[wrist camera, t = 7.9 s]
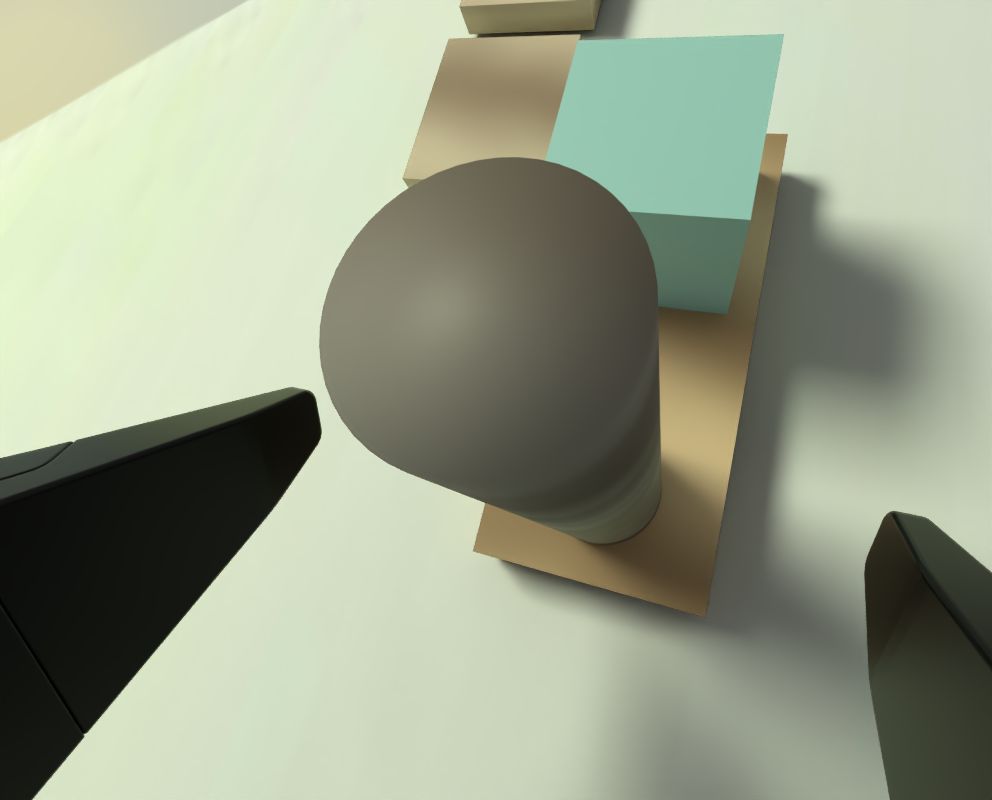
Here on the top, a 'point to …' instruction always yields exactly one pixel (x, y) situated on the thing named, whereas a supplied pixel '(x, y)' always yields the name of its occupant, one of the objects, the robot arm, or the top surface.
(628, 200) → the cube
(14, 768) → the robot arm
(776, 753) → the top surface
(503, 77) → the beige rectangular block
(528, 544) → the wooden peg stand
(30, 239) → the top surface
